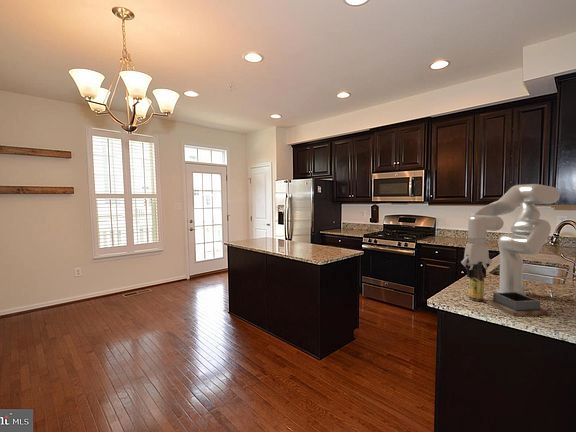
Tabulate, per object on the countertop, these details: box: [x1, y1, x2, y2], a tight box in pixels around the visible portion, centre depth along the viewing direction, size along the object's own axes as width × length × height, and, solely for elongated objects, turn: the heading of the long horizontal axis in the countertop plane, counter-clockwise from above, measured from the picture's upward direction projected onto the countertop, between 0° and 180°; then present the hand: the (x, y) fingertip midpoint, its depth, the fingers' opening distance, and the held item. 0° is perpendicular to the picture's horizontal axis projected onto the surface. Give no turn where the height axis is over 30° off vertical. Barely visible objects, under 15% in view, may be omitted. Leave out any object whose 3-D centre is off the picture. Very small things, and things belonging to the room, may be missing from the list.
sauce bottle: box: [468, 262, 485, 302], centre depth 142 cm, size 7×6×20 cm
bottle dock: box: [486, 292, 549, 317], centre depth 130 cm, size 16×15×6 cm
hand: (476, 276), depth 142 cm, fingers closed on sauce bottle, 6 cm apart
